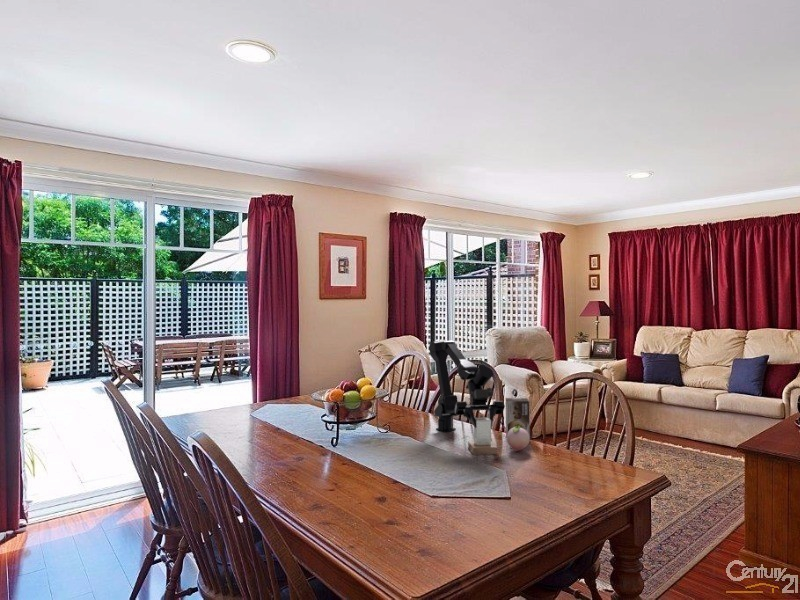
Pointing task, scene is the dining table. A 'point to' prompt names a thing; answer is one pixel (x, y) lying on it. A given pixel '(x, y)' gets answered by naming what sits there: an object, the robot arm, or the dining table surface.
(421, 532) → the dining table surface
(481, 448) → the plinth
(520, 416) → the coffee box
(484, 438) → the tea tin
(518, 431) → the decorative fruit
